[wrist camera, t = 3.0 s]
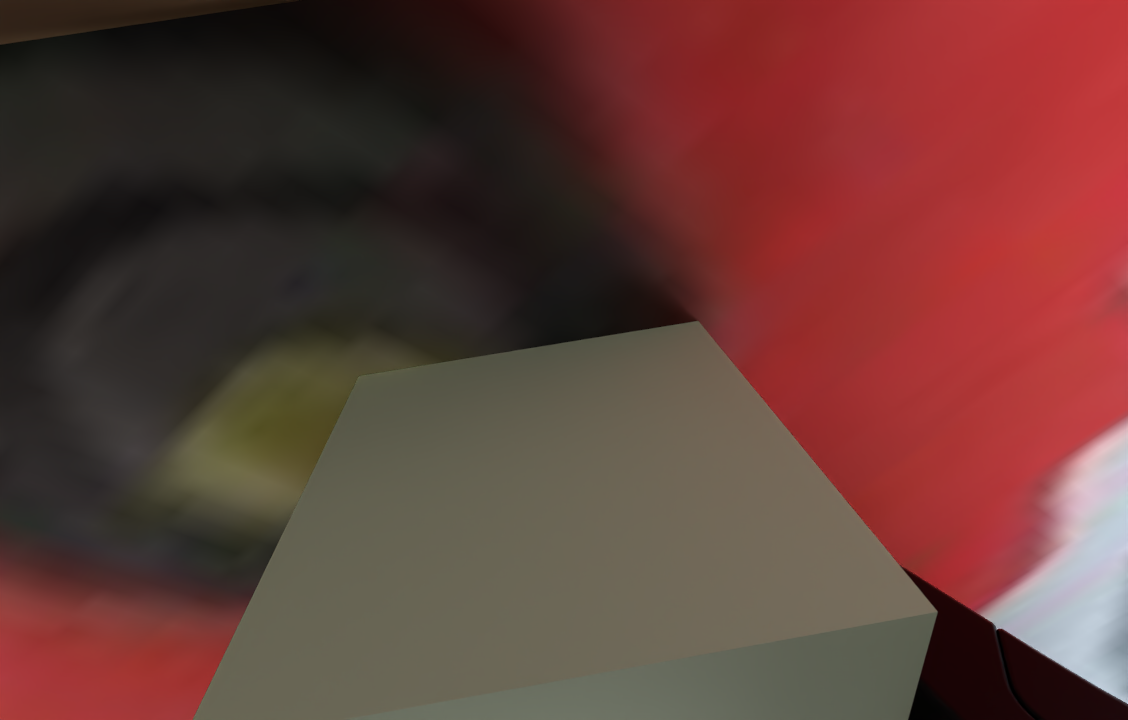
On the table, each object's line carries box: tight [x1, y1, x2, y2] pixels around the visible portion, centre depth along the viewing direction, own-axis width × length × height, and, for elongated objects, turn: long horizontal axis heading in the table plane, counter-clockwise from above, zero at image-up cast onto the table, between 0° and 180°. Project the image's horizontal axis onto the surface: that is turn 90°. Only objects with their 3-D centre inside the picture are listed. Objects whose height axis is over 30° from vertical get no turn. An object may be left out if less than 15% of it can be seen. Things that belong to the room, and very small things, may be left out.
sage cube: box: [193, 321, 938, 720], centre depth 7 cm, size 5×5×5 cm
